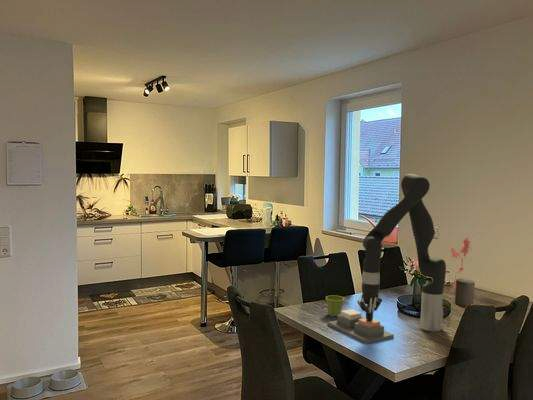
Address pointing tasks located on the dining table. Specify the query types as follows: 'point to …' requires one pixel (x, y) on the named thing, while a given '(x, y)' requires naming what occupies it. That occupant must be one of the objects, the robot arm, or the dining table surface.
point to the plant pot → (334, 305)
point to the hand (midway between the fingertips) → (369, 320)
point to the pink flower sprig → (455, 254)
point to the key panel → (360, 330)
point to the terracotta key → (369, 323)
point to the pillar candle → (464, 292)
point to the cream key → (351, 314)
